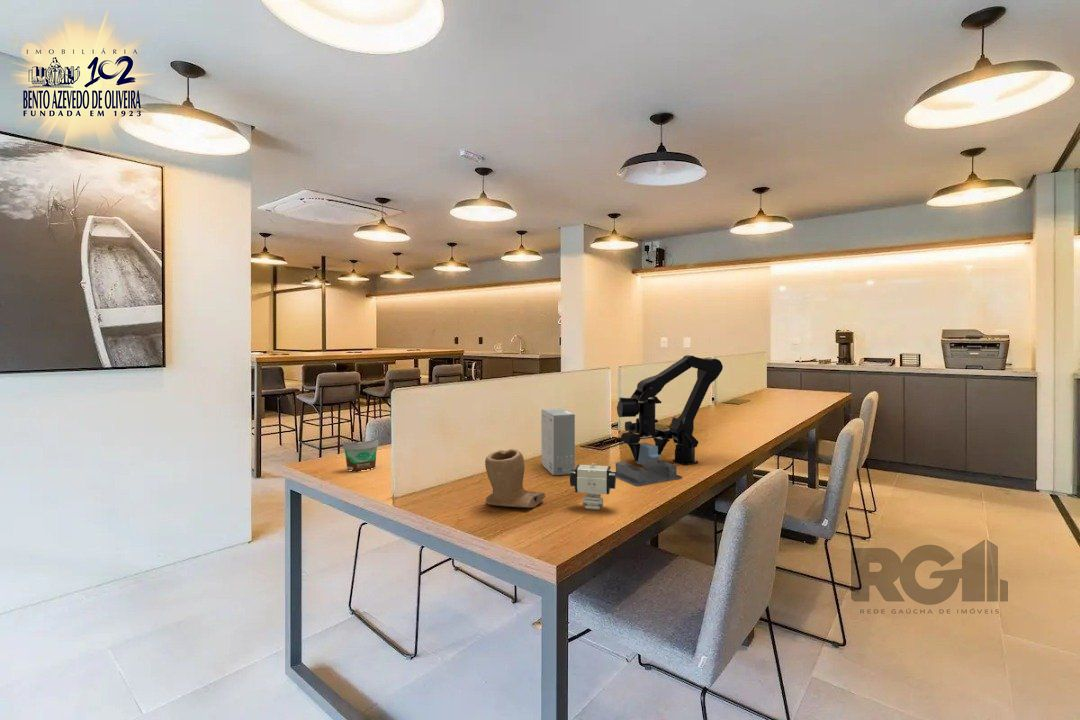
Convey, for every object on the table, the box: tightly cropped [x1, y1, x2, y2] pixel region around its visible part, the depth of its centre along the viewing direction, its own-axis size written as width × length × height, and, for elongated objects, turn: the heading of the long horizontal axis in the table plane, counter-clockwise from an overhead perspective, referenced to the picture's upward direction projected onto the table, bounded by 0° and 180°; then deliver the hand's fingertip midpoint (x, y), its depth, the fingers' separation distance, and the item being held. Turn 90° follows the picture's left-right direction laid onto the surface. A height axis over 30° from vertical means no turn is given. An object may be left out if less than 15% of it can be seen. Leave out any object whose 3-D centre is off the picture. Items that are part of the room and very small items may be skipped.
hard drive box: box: [540, 408, 576, 476], centre depth 170 cm, size 16×8×20 cm, turn 15°
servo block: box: [635, 442, 662, 467], centre depth 176 cm, size 11×4×7 cm, turn 27°
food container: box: [342, 437, 380, 471], centre depth 171 cm, size 12×6×10 cm, turn 132°
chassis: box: [615, 457, 683, 487], centre depth 161 cm, size 18×14×4 cm
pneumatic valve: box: [569, 462, 617, 511], centre depth 132 cm, size 6×12×12 cm, turn 77°
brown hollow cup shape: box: [484, 448, 546, 509], centre depth 134 cm, size 15×12×15 cm
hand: (646, 460), depth 176 cm, fingers open, 9 cm apart
